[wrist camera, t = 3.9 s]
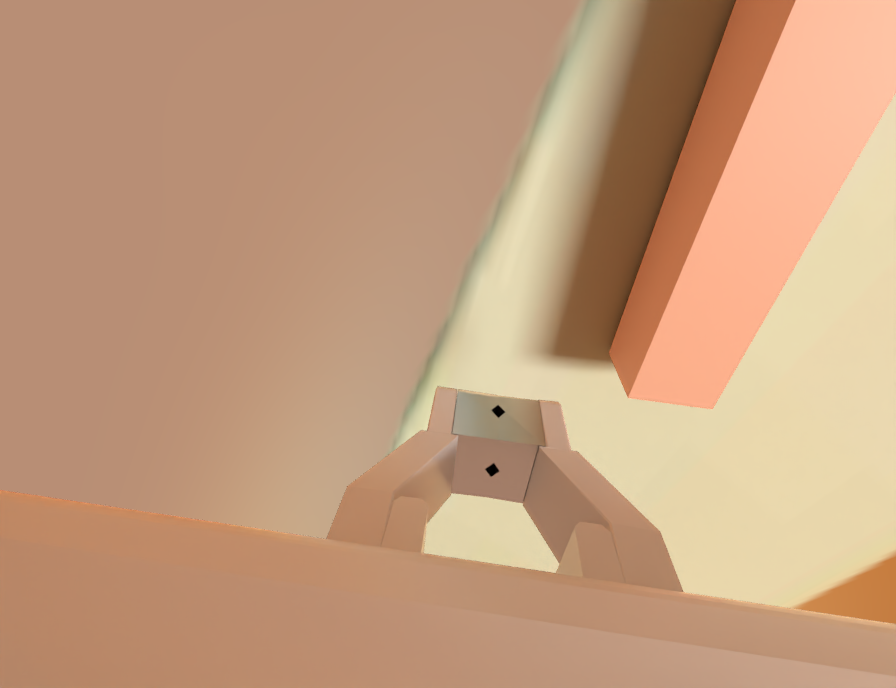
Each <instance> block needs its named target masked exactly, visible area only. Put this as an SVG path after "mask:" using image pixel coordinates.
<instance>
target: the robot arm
mask: <svg viewBox="0 0 896 688" xmlns="http://www.w3.org/2000/svg"><path fill="white" fill-rule="evenodd" d="M456 398H457V400H456ZM451 493H455V494H464V495H473V496H481V497H489V498H495V499H501V500H507V501H513V502H518V503H523V506H524V508H525V509H526V511H527V512H528V514H529V516H530V517H531V519H532V520H533V522H534V524H535V525H536V527H537V528H538V530H539V532H540V533H541V535H542V536H543V538H544V540H545V541H546V543H547V544H548V546H549V548H550V549H551V551H552V552H553V554H554V556H555V557H556V559H557V560H558V562H559V567H558V569H557V572H556V573H551V572H545V571H538V570H531V569H525V568H518V567H511V566H505V565H498V564H491V563H485V562H478V561H472V560H465V559H458V558H452V557H445V556H438V555H432V554H425V553H424V546H425V535H426V525H427V523H428V522H429V520H430V519H431V518H432V517H433V516H434V514H435V513H436V512H437V511H438V510H439V509H440V507H441V506H442V505H443V504H444V503H445V501H446V500H447V499H448V498H449V497H450V495H451ZM0 688H896V624H891V623H884V622H878V621H871V620H865V619H857V618H852V617H845V616H838V615H832V614H825V613H818V612H812V611H805V610H798V609H792V608H785V607H778V606H772V605H765V604H758V603H752V602H745V601H739V600H732V599H725V598H719V597H712V596H705V595H699V594H692V593H685V592H683V590H682V587H681V584H680V582H679V579H678V577H677V574H676V571H675V569H674V566H673V564H672V561H671V558H670V556H669V553H668V551H667V548H666V545H665V543H664V540H663V538H662V535H661V533H660V531H659V530H658V529H657V528H656V527H655V526H654V525H653V524H652V523H651V522H650V521H649V520H648V519H647V518H645V517H644V516H643V515H642V514H641V513H640V512H639V511H638V510H637V509H636V508H635V507H634V506H633V505H632V504H631V503H630V502H629V501H628V500H627V499H626V498H625V497H624V496H623V495H622V494H621V493H620V492H619V491H618V490H617V489H616V488H615V487H614V486H613V485H612V484H611V483H609V482H608V481H607V480H606V479H605V478H604V477H603V476H602V475H601V474H600V473H599V472H598V471H597V470H596V469H595V468H594V467H593V466H592V465H591V464H590V463H589V462H588V461H587V460H586V459H585V458H584V457H583V456H582V455H581V454H580V453H579V452H577V451H571V447H570V443H569V438H568V434H567V430H566V425H565V421H564V416H563V412H562V408H561V404H560V403H559V402H555V401H545V400H530V399H522V398H514V397H507V396H499V395H494V394H487V393H481V392H474V391H468V390H461V389H458V393H457V389H453V388H446V387H439V386H438V387H437V388H436V391H435V396H434V401H433V405H432V410H431V415H430V419H429V424H428V429H427V431H424V430H421V431H419V432H418V433H417V434H415V435H414V436H413V437H411V438H410V439H409V440H407V441H406V442H405V443H403V444H402V445H401V446H400V447H398V448H397V449H396V450H394V451H393V452H392V453H390V454H389V455H388V456H386V457H385V458H384V459H382V460H381V461H380V462H378V463H377V464H376V465H374V466H373V467H372V468H371V469H369V470H368V471H367V472H365V473H364V474H363V475H361V476H360V477H359V478H358V479H356V480H355V481H353V482H352V483H351V484H350V485H349V486H347V488H346V490H345V493H344V495H343V498H342V500H341V503H340V505H339V508H338V510H337V513H336V515H335V518H334V520H333V523H332V526H331V528H330V531H329V533H328V536H327V538H326V539H324V538H318V537H311V536H304V535H298V534H291V533H285V532H278V531H271V530H265V529H258V528H251V527H245V526H237V525H231V524H224V523H218V522H211V521H205V520H198V519H191V518H184V517H178V516H171V515H164V514H158V513H151V512H144V511H137V510H131V509H124V508H117V507H111V506H104V505H97V504H90V503H84V502H77V501H71V500H64V499H57V498H51V497H44V496H37V495H30V494H24V493H17V492H10V491H4V490H0Z"/></svg>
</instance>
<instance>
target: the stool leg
mask: <svg viewBox="0 0 896 688" xmlns="http://www.w3.org/2000/svg"><path fill="white" fill-rule="evenodd" d="M895 93H896V0H736V2H735V5H734V7H733V10H732V13H731V16H730V18H729V21H728V24H727V27H726V30H725V32H724V35H723V38H722V41H721V43H720V46H719V49H718V52H717V55H716V57H715V60H714V63H713V66H712V68H711V71H710V74H709V77H708V79H707V82H706V85H705V88H704V91H703V93H702V96H701V99H700V102H699V104H698V107H697V110H696V113H695V115H694V118H693V121H692V124H691V127H690V129H689V132H688V135H687V138H686V140H685V143H684V146H683V149H682V152H681V154H680V157H679V160H678V163H677V165H676V168H675V171H674V174H673V176H672V179H671V182H670V185H669V188H668V190H667V193H666V196H665V199H664V201H663V204H662V207H661V210H660V212H659V215H658V218H657V221H656V224H655V226H654V229H653V232H652V235H651V237H650V240H649V243H648V246H647V249H646V251H645V254H644V257H643V260H642V262H641V265H640V268H639V271H638V273H637V276H636V279H635V282H634V285H633V287H632V290H631V293H630V296H629V298H628V301H627V304H626V307H625V310H624V312H623V315H622V318H621V321H620V323H619V326H618V329H617V332H616V334H615V337H614V340H613V343H612V346H611V348H610V351H609V355H610V357H611V360H612V362H613V364H614V366H615V369H616V371H617V373H618V376H619V378H620V380H621V383H622V385H623V387H624V390H625V392H626V394H627V397H628V398H633V399H640V400H648V401H655V402H663V403H670V404H677V405H685V406H692V407H700V408H707V409H713V408H714V406H715V404H716V402H717V401H718V399H719V397H720V395H721V394H722V392H723V390H724V389H725V387H726V385H727V383H728V382H729V380H730V378H731V376H732V375H733V373H734V371H735V370H736V368H737V366H738V364H739V363H740V361H741V359H742V357H743V356H744V354H745V352H746V350H747V349H748V347H749V345H750V344H751V342H752V340H753V338H754V337H755V335H756V333H757V331H758V330H759V328H760V326H761V325H762V323H763V321H764V319H765V318H766V316H767V314H768V312H769V311H770V309H771V307H772V306H773V304H774V302H775V300H776V299H777V297H778V295H779V293H780V292H781V290H782V288H783V287H784V285H785V283H786V281H787V280H788V278H789V276H790V274H791V273H792V271H793V269H794V268H795V266H796V264H797V262H798V261H799V259H800V257H801V255H802V254H803V252H804V250H805V248H806V247H807V245H808V243H809V242H810V240H811V238H812V236H813V235H814V233H815V231H816V229H817V228H818V226H819V224H820V223H821V221H822V219H823V217H824V216H825V214H826V212H827V210H828V209H829V207H830V205H831V204H832V202H833V200H834V198H835V197H836V195H837V193H838V191H839V190H840V188H841V186H842V185H843V183H844V181H845V179H846V178H847V176H848V174H849V172H850V171H851V169H852V167H853V166H854V164H855V162H856V160H857V159H858V157H859V155H860V153H861V152H862V150H863V148H864V147H865V145H866V143H867V141H868V140H869V138H870V136H871V134H872V133H873V131H874V129H875V127H876V126H877V124H878V122H879V121H880V119H881V117H882V115H883V114H884V112H885V110H886V108H887V107H888V105H889V103H890V102H891V100H892V98H893V96H894V95H895Z"/></svg>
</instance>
